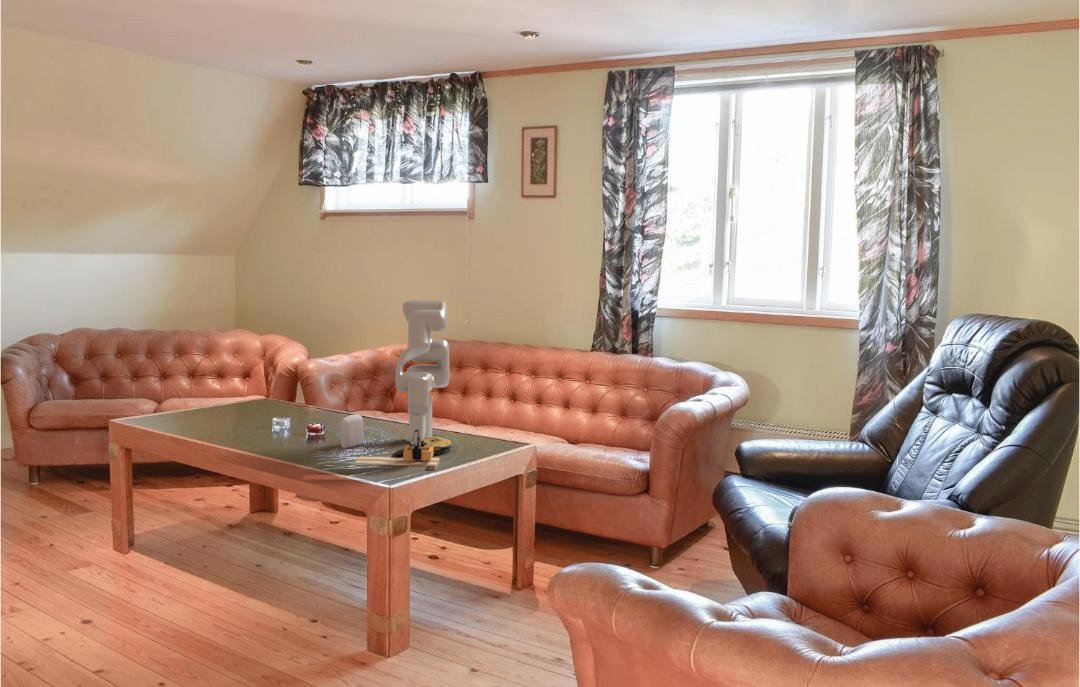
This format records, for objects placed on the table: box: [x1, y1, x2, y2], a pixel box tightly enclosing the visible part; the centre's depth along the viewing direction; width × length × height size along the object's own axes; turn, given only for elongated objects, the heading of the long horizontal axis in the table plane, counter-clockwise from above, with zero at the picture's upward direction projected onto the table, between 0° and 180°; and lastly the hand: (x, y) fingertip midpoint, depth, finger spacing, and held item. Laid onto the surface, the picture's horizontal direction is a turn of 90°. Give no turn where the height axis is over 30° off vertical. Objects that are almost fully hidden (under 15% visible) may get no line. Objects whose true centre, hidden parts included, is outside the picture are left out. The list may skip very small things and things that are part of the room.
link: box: [402, 445, 434, 460], centre depth 324 cm, size 7×10×3 cm
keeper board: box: [352, 448, 440, 471], centre depth 324 cm, size 12×30×7 cm, turn 90°
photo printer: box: [340, 414, 364, 449], centre depth 354 cm, size 10×4×12 cm, turn 150°
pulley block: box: [392, 434, 459, 457], centre depth 342 cm, size 14×6×30 cm
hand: (418, 456), depth 325 cm, fingers closed on link, 7 cm apart
